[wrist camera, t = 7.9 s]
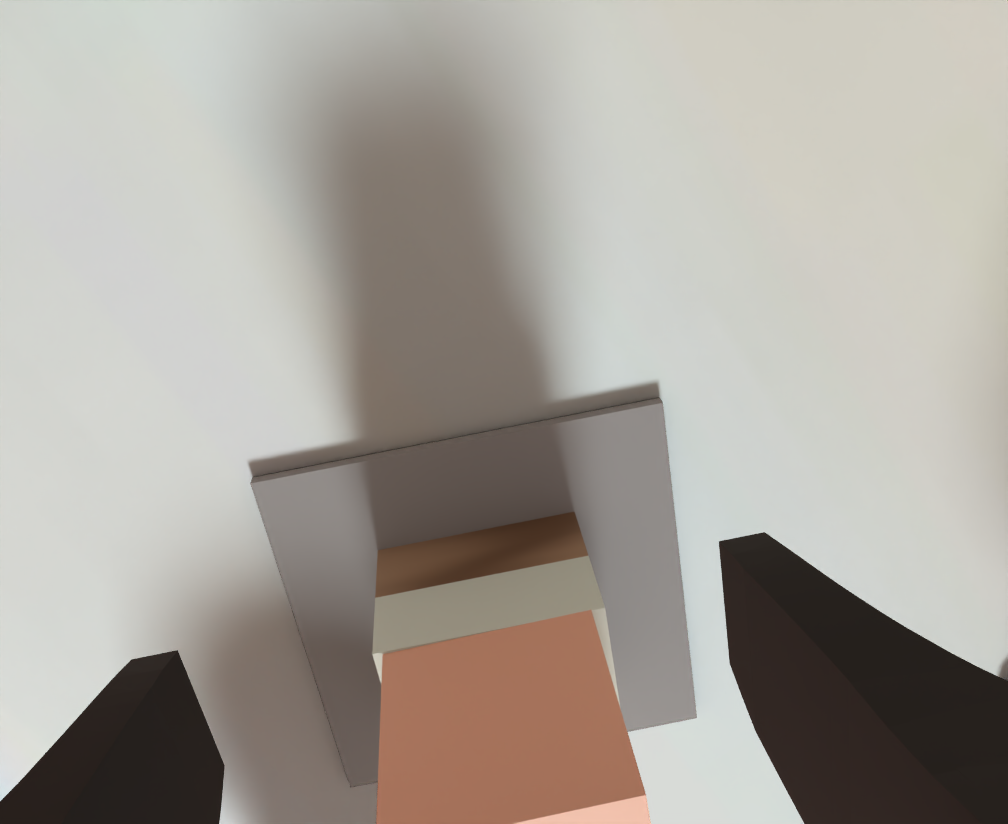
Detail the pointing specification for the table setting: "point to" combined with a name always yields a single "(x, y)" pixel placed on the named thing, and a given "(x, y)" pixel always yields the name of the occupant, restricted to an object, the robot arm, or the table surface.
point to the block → (506, 731)
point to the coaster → (476, 506)
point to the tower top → (489, 607)
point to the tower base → (478, 554)
